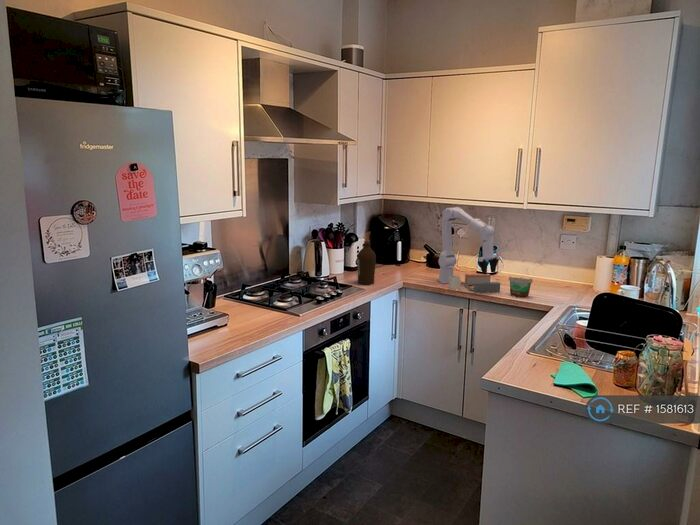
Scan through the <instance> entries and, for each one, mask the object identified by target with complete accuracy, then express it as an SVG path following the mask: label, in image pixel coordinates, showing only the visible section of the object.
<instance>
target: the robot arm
mask: <svg viewBox="0 0 700 525" xmlns="http://www.w3.org/2000/svg"><path fill="white" fill-rule="evenodd" d="M458 219H462V220H463V221H464V222H466V223H468V224H469V225H470V228H472V229H473V230H475V231H477V232H478V233H479V235H480V237H481V241H482V242H481V246H482V256H480V257H478V261H477V264H478V265H479V267H480V269H481V274H488V266H490V268H489V269H490V272H491V273H495V272H496V271H497V265H498V263H499V261H500V260H499V258H498V254H495V253H494V235H495V233H496V229H495V227H494V226H493V225H488V224H487V223H485V222H484V221H482V219H481V218H473V216H472V215H470V214H468V213H467V212H466V211H464V209H463V208H461V207H459V206H456V207H446V208H444V210H442V217H441V243H442V245H441V246H442V251H441V252H440V253H439V258H438V265H439V267H440V268H439V271H438V274H439V275H438V278H437V281H439V282H440V283H441V284H449V276H454V268H455V266H456V264H457V257H456V253H455V252H454V251H453V236H452V224H453V222H455V220H458Z"/></svg>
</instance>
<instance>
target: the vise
mask: <svg viewBox="0 0 700 525" xmlns="http://www.w3.org/2000/svg"><path fill="white" fill-rule="evenodd" d="M462 284H463V285H462ZM460 285H462V286H463V287H465V288H468V290H469V291H470V292H473V293H477V294H478V293H500V292H501V283H500V281H490V282H474V285H472V287H473V288H472V287H471V286H470V285H467V284H466V283H465V281H460Z"/></svg>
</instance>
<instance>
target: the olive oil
mask: <svg viewBox="0 0 700 525" xmlns="http://www.w3.org/2000/svg"><path fill="white" fill-rule="evenodd" d="M370 241H371V240H369V239H364V241H363V247H362V248H361V249H360V250H359V251H358V253H357V258H356V259H357V260H356V261H357V265H356V266H357V284H358V283H359V285H361V284H362V285H361V286H371V284H372V285H374V284H375V276H376V274H375V272H376V262H377V255H376V253H375V251H374V250H373V249H372V248H371V242H370Z"/></svg>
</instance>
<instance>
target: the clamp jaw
mask: <svg viewBox="0 0 700 525" xmlns="http://www.w3.org/2000/svg"><path fill="white" fill-rule="evenodd" d="M491 277H492V276H491V274H490V273H487V274H483V273H465V274H464V283H466V284H467V285H468V286H474V282H491Z"/></svg>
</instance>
